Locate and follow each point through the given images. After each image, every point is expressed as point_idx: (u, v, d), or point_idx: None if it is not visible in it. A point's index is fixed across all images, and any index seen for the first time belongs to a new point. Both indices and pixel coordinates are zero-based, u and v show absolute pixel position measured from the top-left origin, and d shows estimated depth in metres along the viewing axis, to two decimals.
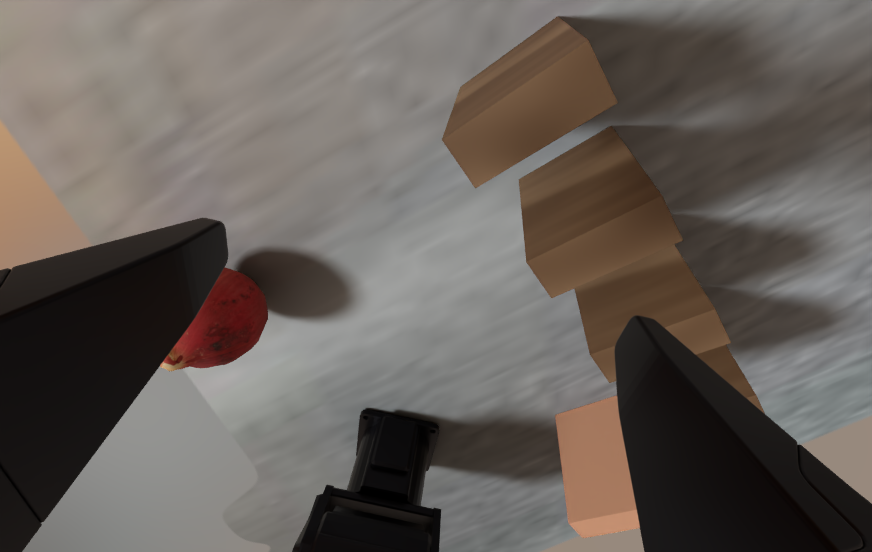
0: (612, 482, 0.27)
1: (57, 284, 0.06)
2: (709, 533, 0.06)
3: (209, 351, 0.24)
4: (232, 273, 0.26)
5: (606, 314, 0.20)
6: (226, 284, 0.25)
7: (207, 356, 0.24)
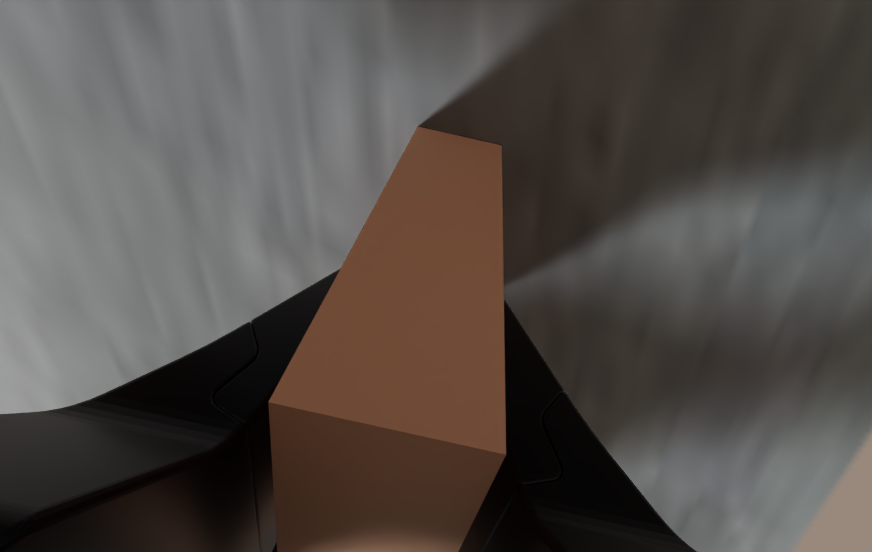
0: None
1: (302, 338, 0.06)
2: None
3: None
4: None
5: None
6: None
7: None
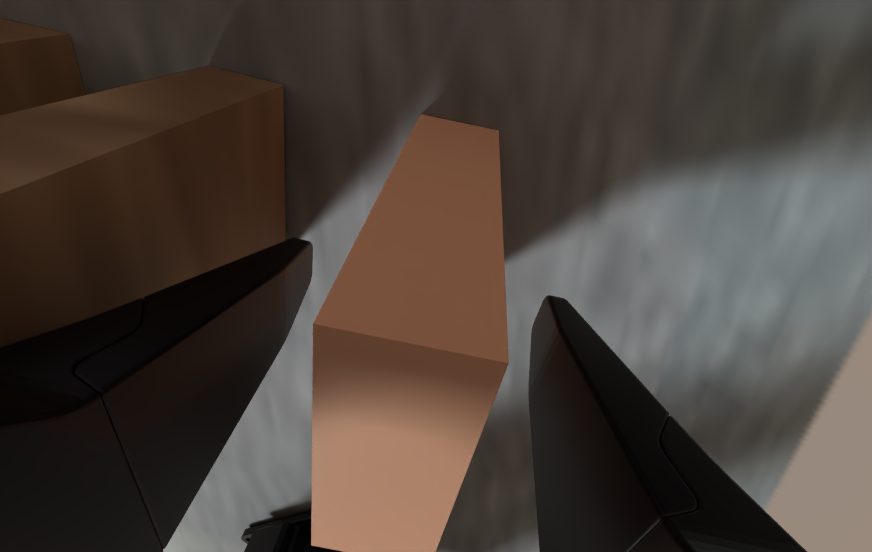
0: None
1: (192, 314, 0.06)
2: (580, 505, 0.06)
3: None
4: None
5: None
6: None
7: None
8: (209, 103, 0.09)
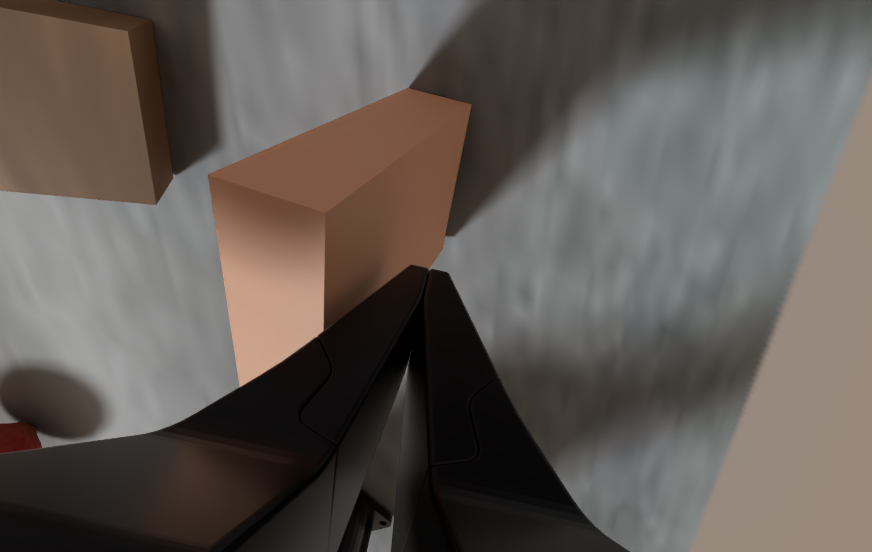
0: None
1: (370, 354, 0.06)
2: (409, 467, 0.06)
3: None
4: None
5: None
6: None
7: None
8: (18, 7, 0.11)
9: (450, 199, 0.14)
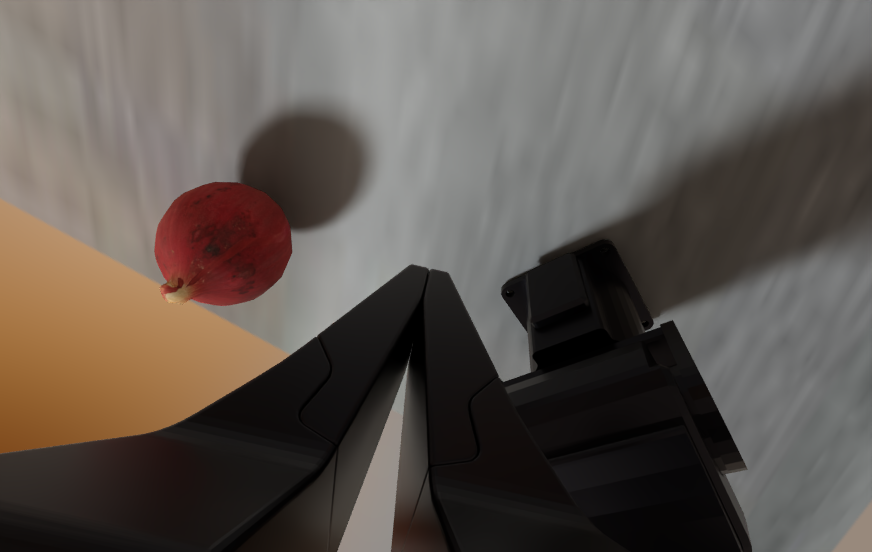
0: None
1: (370, 354, 0.06)
2: (409, 467, 0.06)
3: (207, 260, 0.18)
4: None
5: None
6: (197, 188, 0.20)
7: (209, 267, 0.18)
8: None
9: None
